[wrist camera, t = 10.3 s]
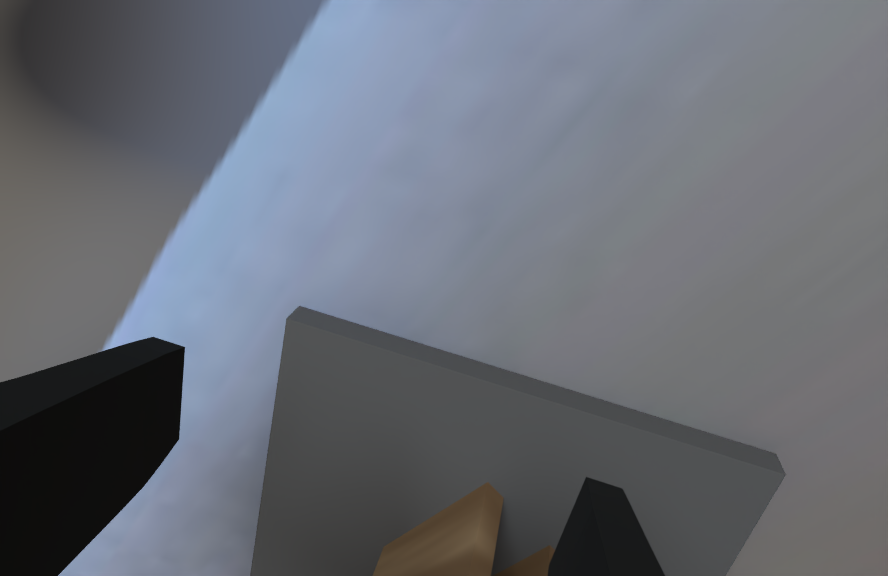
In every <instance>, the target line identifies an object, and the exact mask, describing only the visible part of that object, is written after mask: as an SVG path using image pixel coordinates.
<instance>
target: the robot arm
mask: <svg viewBox="0 0 888 576" xmlns="http://www.w3.org/2000/svg"><path fill="white" fill-rule="evenodd" d="M184 352H185V347H183V346H180V345H177V344H173V343H170V342H167V341H164V340H161V339H158V338H155V337H151V338H147V339H143V340H139V341H135V342H132V343H128V344H125V345H122V346H118V347H115V348H112V349H108V350H105V351H102V352H99V353H96V354H93V355H89V356H87V357H83V358H80V359H77V360H74V361H70V362H67V363H64V364H61V365H57V366H54V367H51V368H48V369H45V370H41V371H38V372H35V373H32V374H29V375H25V376H22V377H19V378H15V379H11V380H8V381H4V382H0V576H58V575H59V574H60V573H61V572H62V571H63V570H64V569H65V568H66V567H67V566H68V565H69V564H70V563H71V562H72V560H73V559H74V558H75V557H76V556H77V555H78V554H79V553H80V552H81V551H82V550H83V549H84V548H85V547H86V546H87V545H88V544H89V543H90V542H91V541H92V540H93V539H94V538H95V537H96V536H97V535H98V534H99V533H100V532H101V531H102V530H103V529H104V528H105V527H106V526H107V525H108V524H109V522H110V521H111V520H112V519H113V518H114V517H115V516H116V515H117V514H118V513H119V512H120V511H121V510H122V509H123V508H124V507H125V506H126V505H127V504H128V503H129V502H130V501H131V500H132V498H133V497H134V496H135V495H136V494H137V493H138V492H139V491H140V490H141V489H142V488H143V487H144V485H145V484H146V483H147V482H148V480H149V479H150V478H151V476H152V475H153V474H154V473H155V471H156V470H157V469H158V467H159V466H160V465H161V463H162V462H163V461H164V459H165V458H166V456H167V455H168V454H169V452H170V451H171V450H172V448H173V447H174V445H175V444H176V443H177V441H178V440H179V430H180V415H181V399H182V384H183V368H184ZM548 576H665V574H664V572H663V570H662V568H661V566H660V564H659V562H658V560H657V558H656V556H655V554H654V552H653V550H652V548H651V546H650V544H649V542H648V540H647V538H646V536H645V534H644V531H643V529H642V527H641V525H640V523H639V521H638V519H637V517H636V515H635V513H634V511H633V508H632V506H631V504H630V502H629V500H628V498H627V496H626V494H625V492H624V490H623V489H622V488H619V487H616V486H613V485H610V484H607V483H604V482H601V481H598V480H595V479H591V478H588V477H586V478H585V481H584V483H583V485H582V488H581V490H580V492H579V495H578V497H577V499H576V502H575V504H574V507H573V509H572V511H571V514H570V516H569V518H568V521H567V523H566V525H565V528H564V530H563V533H562V535H561V537H560V540H559V542H558V544H557V547H556V549H555V552H554V554H553V556H552V559H551V561H550V563H549V568H548Z"/></svg>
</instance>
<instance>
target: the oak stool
mask: <svg viewBox="0 0 888 576" xmlns="http://www.w3.org/2000/svg"><path fill="white" fill-rule="evenodd" d="M503 499H504V498H503V497H502V496H501V495H500V494H499V493H498V492H497V491H496V490H495V489H494V488H493V487H492V486H491V485H490V483H489V482H487V483H485V484H484V485H482V486H480V487H479V488H477V489H476V490H474V491H472V492H471V493H469V494H468V495H466V496H464V497H463V498H461V499H460V500H458V501H456V502H455V503H453V504H452V505H450V506H448V507H447V508H445V509H443V510H442V511H440V512H439V513H437V514H435V515H434V516H432V517H431V518H429V519H427V520H426V521H424V522H423V523H421V524H419V525H418V526H416V527H415V528H413V529H411V530H410V531H408V532H407V533H405V534H403V535H402V536H400V537H399V538H397V539H395V540H394V541H392V542H391V543H389V544H387V545H386V546H384V547H383V550H382V552H381V555H380V558H379V560H378V563H377V566H376V568H375V571H374V573H373V576H491V572H492V566H493V560H494V554H495V548H496V541H497V535H498V529H499V523H500V517H501V511H502V505H503ZM554 552H555V550H554V549H553V548H552V547H551V546H550V545H549V546H547V547H545V548H543V549H542V550H540V551H538V552H536V553H534V554H532V555H530V556H529V557H527V558H525V559H523V560H521V561H519V562H517V563H516V564H514V565H512V566H510V567H508V568H506V569H504V570H503V571H501V572H499V573H497V574H495V575H493V576H548V568H549V563H550V561H551V559H552V556H553V554H554Z"/></svg>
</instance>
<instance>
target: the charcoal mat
mask: <svg viewBox="0 0 888 576" xmlns="http://www.w3.org/2000/svg"><path fill="white" fill-rule="evenodd" d="M785 475H786V474H785V472H784V470H783V468H782V466H781V463H780V461H779V459H778V457H777V455H776V454H774V453H771V452H768V451H765V450H761V449H758V448H755V447H752V446H749V445H745V444H742V443H739V442H736V441H733V440H729V439H726V438H723V437H720V436H716V435H713V434H710V433H707V432H704V431H700V430H697V429H694V428H691V427H687V426H684V425H681V424H678V423H675V422H671V421H668V420H665V419H662V418H658V417H655V416H652V415H649V414H646V413H642V412H639V411H636V410H633V409H629V408H626V407H623V406H620V405H617V404H613V403H610V402H607V401H604V400H600V399H597V398H594V397H591V396H588V395H584V394H581V393H578V392H575V391H572V390H568V389H565V388H562V387H559V386H555V385H552V384H549V383H546V382H543V381H539V380H536V379H533V378H530V377H526V376H523V375H520V374H517V373H514V372H510V371H507V370H504V369H501V368H497V367H494V366H491V365H488V364H485V363H481V362H478V361H475V360H472V359H468V358H465V357H462V356H459V355H456V354H452V353H449V352H446V351H443V350H439V349H436V348H433V347H430V346H427V345H423V344H420V343H417V342H414V341H410V340H407V339H404V338H401V337H398V336H394V335H391V334H388V333H385V332H382V331H378V330H375V329H372V328H369V327H365V326H362V325H359V324H356V323H353V322H349V321H346V320H343V319H340V318H336V317H333V316H330V315H327V314H324V313H320V312H317V311H314V310H311V309H307V308H304V307H301V306H299V307H298V308H297V309H296V310H295V311H294V312H293V313H292V314H291V315H290V316H289V317H288V318H287V319H286V326H285V334H284V341H283V348H282V355H281V362H280V369H279V376H278V383H277V390H276V397H275V404H274V412H273V419H272V426H271V433H270V440H269V447H268V454H267V461H266V468H265V475H264V482H263V490H262V497H261V504H260V511H259V518H258V525H257V532H256V539H255V546H254V553H253V560H252V568H251V575H250V576H373V573H374V571H375V568H376V566H377V563H378V560H379V558H380V555H381V552H382V550H383V547H384V546H386V545H387V544H389V543H391V542H392V541H394V540H395V539H397V538H399V537H400V536H402V535H403V534H405V533H407V532H408V531H410V530H411V529H413V528H415V527H416V526H418V525H419V524H421V523H423V522H424V521H426V520H427V519H429V518H431V517H432V516H434V515H435V514H437V513H439V512H440V511H442V510H443V509H445V508H447V507H448V506H450V505H452V504H453V503H455V502H456V501H458V500H460V499H461V498H463V497H464V496H466V495H468V494H469V493H471V492H472V491H474V490H476V489H477V488H479V487H480V486H482V485H484V484H485V483H487V482H489V483H490V485H491V486H492V487H493V488H494V489H495V490H496V491H497V492H498V493H499V494H500V495H501V496H502V497H503V498H504V499H503V505H502V511H501V517H500V523H499V529H498V535H497V541H496V548H495V554H494V560H493V566H492V572H491V576H493V575H495V574H497V573H499V572H501V571H503V570H504V569H506V568H508V567H510V566H512V565H514V564H516V563H517V562H519V561H521V560H523V559H525V558H527V557H529V556H530V555H532V554H534V553H536V552H538V551H540V550H542V549H543V548H545V547H547V546H549V545H550V546H551V547H552V548H553V549H554V550H555V549H556V547H557V544H558V542H559V540H560V537H561V535H562V533H563V530H564V528H565V525H566V523H567V521H568V518H569V516H570V514H571V511H572V509H573V507H574V504H575V502H576V499H577V497H578V495H579V492H580V490H581V488H582V485H583V483H584V481H585V478H586V477H588V478H591V479H595V480H598V481H601V482H604V483H607V484H610V485H613V486H616V487H619V488H622V489H623V490H624V492H625V494H626V496H627V498H628V500H629V502H630V504H631V506H632V508H633V511H634V513H635V515H636V517H637V519H638V521H639V523H640V525H641V527H642V529H643V531H644V534H645V536H646V538H647V540H648V542H649V544H650V546H651V548H652V550H653V552H654V554H655V556H656V558H657V560H658V562H659V564H660V566H661V568H662V570H663V572H664V574H665V576H726V574H727V572H728V571H729V569H730V567H731V566H732V564H733V562H734V561H735V559H736V557H737V556H738V554H739V552H740V551H741V549H742V547H743V546H744V544H745V542H746V540H747V539H748V537H749V535H750V534H751V532H752V530H753V529H754V527H755V525H756V524H757V522H758V520H759V519H760V517H761V515H762V514H763V512H764V510H765V509H766V507H767V505H768V504H769V502H770V500H771V499H772V497H773V495H774V494H775V492H776V490H777V489H778V487H779V485H780V483H781V482H782V480H783V478H784V477H785Z"/></svg>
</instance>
